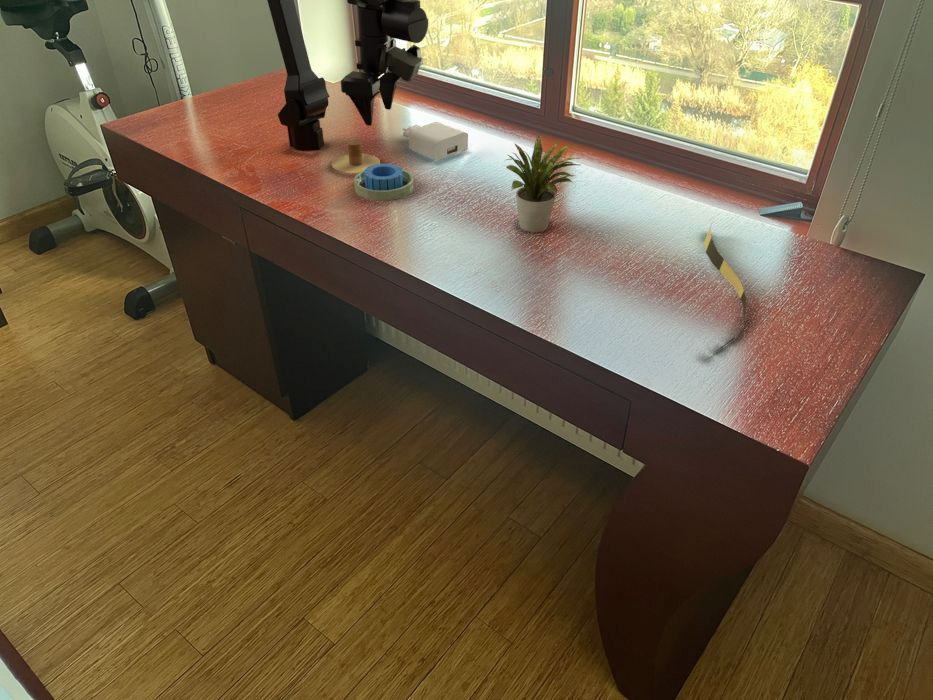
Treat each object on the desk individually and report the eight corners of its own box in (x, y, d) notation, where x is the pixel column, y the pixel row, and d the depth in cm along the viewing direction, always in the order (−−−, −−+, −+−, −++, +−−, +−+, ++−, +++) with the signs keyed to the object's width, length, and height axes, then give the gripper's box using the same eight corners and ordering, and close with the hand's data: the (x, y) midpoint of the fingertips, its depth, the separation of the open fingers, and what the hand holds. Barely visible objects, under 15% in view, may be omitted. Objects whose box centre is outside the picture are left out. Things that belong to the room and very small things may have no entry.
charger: (421, 133, 169) (467, 152, 161) (390, 144, 164) (436, 164, 156) (421, 112, 167) (468, 131, 158) (389, 123, 161) (436, 142, 153)
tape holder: (323, 172, 152) (321, 148, 149) (344, 154, 159) (342, 130, 156) (369, 179, 150) (367, 154, 146) (387, 160, 157) (386, 136, 154)
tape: (737, 240, 132) (743, 221, 129) (747, 369, 102) (755, 347, 100) (702, 235, 133) (708, 215, 130) (702, 361, 103) (709, 339, 101)
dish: (345, 199, 142) (344, 186, 141) (369, 175, 151) (368, 163, 149) (401, 207, 140) (400, 195, 138) (421, 183, 148) (421, 170, 147)
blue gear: (359, 193, 143) (357, 176, 141) (374, 178, 149) (373, 161, 147) (395, 199, 141) (394, 181, 139) (408, 183, 147) (408, 166, 145)
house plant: (537, 256, 126) (544, 165, 116) (476, 229, 133) (478, 141, 123) (586, 227, 134) (597, 140, 124) (526, 203, 142) (532, 119, 132)
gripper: (395, 52, 126) (398, 140, 136) (433, 25, 140) (434, 106, 150) (336, 44, 129) (343, 131, 139) (379, 18, 143) (383, 99, 153)
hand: (378, 117), depth 145 cm, fingers open, 9 cm apart
